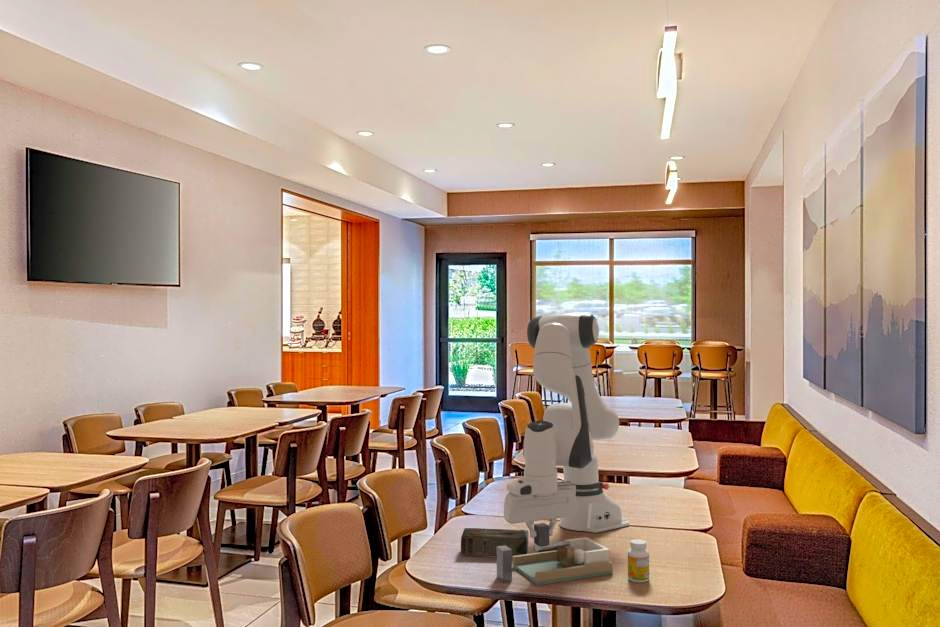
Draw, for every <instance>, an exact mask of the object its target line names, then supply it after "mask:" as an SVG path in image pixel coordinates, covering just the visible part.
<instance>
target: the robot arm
mask: <svg viewBox="0 0 940 627" xmlns="http://www.w3.org/2000/svg"><path fill="white" fill-rule="evenodd" d="M599 335H600V328H599V323H598V320H597V318H596V317H595V315H594V314H593V313H592V314H591V313H587V312H581V313H578V312H577V313H573V312H571V313H568V312H567V313H566V312H565V313H560V314H559V313H557V314H552V315H551V314H550V315H545V316H542V315H540V316H536V317H533V318H532V319H531V320H530V321H529V322H528V324H527V329H526V337H527V341H528V344H529V346H530V347H532V348H533V349H534V351H533V357H532V358H533V359H532V360H533V361H532V372H533V376H534V379H535V380H536V382H537V383H538V384H539V385H540V386H541V387H542V388H545V389H546V390H548V391H550V392H553V393H555V394H558V395H560V396H561V397H562V396H563V397H564V398H566V399H567V400H568V401H569V402H560V403H558V402H557V403H553V404H550V405H548V406H547V407H546V409H545V411H544V413H543V416H542V420H536V421H532V422H528V424H526V427H525V432H524V439H523V441H522V457H523V459H524V463H525V465H524V469H523V470H524V471H523V475H522V476H521V477H519V478H517V479H514V480H512V481H510V482H507V483H506V491H507V492H508V493H507V494H506V495H505V497H504V503H503V504H504V505H503V518H504V520H505V521H506V522H507V523H509V524H511V525H515V524H523V523H525V525H526V527H527V529H528V530H529V537H530V538H532V539H534V538H536V537H538V535H537V534H538V531H537V530H535V529H534V524H535V522H539V521H546V520H547V521H549V524H548V525H549V537H551V536H553V535H554V528H555V527H556V525H557V523H558V525H559V526H560V527H561V528H563V529H565V530H571V531H578V532H589V533H593V534H594V533H601V532H606V531H610V530H614V529H619V528H624V527H627V526H630V521H629V520H628V519H626V518H625V517H623V516H622V510H621V507H620V505H619V503H618V502H617V501H616V500H614V499H612V498H611V497H610V496H609V495H607V494H606V492H604V490H605V491H607V490H609V488H610V484H609V483H608V482H602V481H599V459H598V456H597V455H596V453H595V447H594V446H595V445H594V441H601V440H603V441H604V440H609V439H610V440H611V439H613V438H614V437H615V436H616V434H617V433H618V430H619V428H620V419H619V415H618V413H617V412H616V410H615V409H614V408H612V407H611V406H610V405H608V403H606V402H605V400H604V399H603V398H602V397H601V395H600V393H599V392H598V390H597V387H596V385H595V380H594V374H593V367H592V360H591V358H592V357H591V352H590V348H591V347H593V346H594V345H595V344H596V343H597V342H598V339H599ZM593 440H594V441H593ZM557 467H563V468H562V470H563V480H562V481H558V480H559V479H558V469H557ZM603 489H604V490H603ZM558 519H559V522H558Z"/></svg>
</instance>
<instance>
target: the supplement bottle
mask: <svg viewBox="0 0 940 627" xmlns="http://www.w3.org/2000/svg"><path fill="white" fill-rule="evenodd" d="M627 578H628V580H629V581H631V582H634V583H647V582H648V581H649V580H650V552H649V550H648V549H647V541H646V540H644V539H639V538H638V539H632V540H630V548H629V549H628V550H627Z"/></svg>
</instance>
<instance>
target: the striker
mask: <svg viewBox="0 0 940 627" xmlns="http://www.w3.org/2000/svg"><path fill="white" fill-rule="evenodd" d="M533 529H535V530H537V531H538V534H537V535H538V537H536V538H533V543H534V545H533V550H534V551H535V552H538V551H539V550H546V549H554V548H557V562H559V563H560V564H562V565H563V566H565V567H566V568H569V567H574V547H572V546H570V541H569V540H568V539H565V540H566V541H564V540H560V541H553V542H550V536H549V524H547V523H545V522H541V523H534V525H533Z"/></svg>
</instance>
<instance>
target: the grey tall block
mask: <svg viewBox="0 0 940 627" xmlns="http://www.w3.org/2000/svg"><path fill="white" fill-rule="evenodd" d="M496 578H497V579H498V580H500V581H501V582H502V583H507V582H512V581H513V557H512V550H511V549H510V548H508V547H507V546H506V545H504V546H497V557H496Z"/></svg>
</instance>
